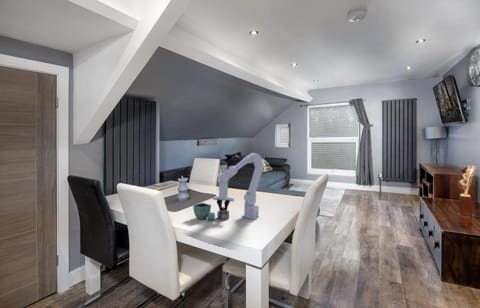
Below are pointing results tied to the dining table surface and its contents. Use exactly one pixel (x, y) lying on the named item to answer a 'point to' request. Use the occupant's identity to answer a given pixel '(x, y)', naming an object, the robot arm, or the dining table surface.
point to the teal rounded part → (211, 216)
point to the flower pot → (201, 210)
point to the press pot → (223, 215)
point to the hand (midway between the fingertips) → (223, 211)
